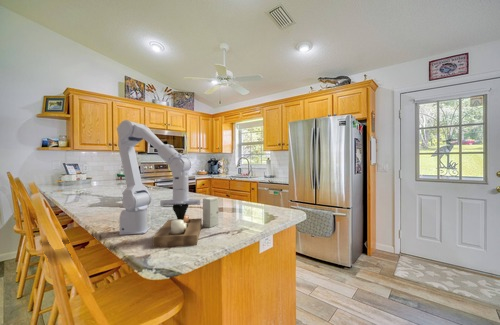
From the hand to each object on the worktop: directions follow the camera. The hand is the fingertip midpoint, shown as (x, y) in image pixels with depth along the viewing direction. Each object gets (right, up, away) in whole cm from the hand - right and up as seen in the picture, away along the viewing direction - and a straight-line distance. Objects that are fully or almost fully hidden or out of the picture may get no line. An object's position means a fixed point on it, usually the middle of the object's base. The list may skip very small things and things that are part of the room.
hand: (180, 224), depth 83 cm
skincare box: (+9, -4, +13) cm, 16 cm away
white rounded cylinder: (+1, -1, -7) cm, 7 cm away
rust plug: (-1, -3, +7) cm, 7 cm away
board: (0, -4, 0) cm, 4 cm away
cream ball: (0, -4, 0) cm, 4 cm away
